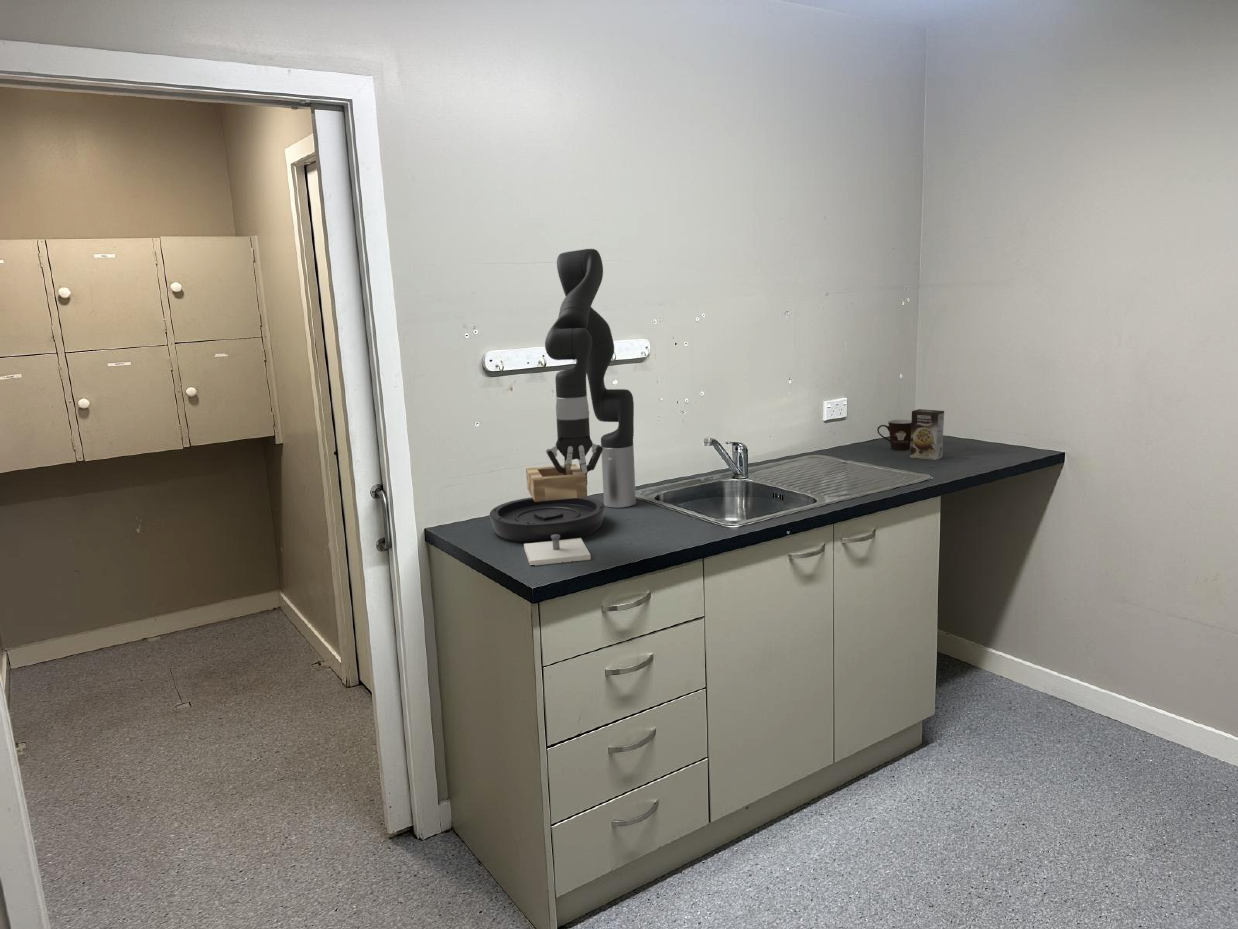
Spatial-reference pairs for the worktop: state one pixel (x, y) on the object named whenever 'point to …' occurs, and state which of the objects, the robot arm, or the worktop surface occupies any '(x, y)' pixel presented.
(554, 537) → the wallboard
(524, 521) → the round tray
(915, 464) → the worktop surface
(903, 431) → the coffee mug
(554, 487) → the frame
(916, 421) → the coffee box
